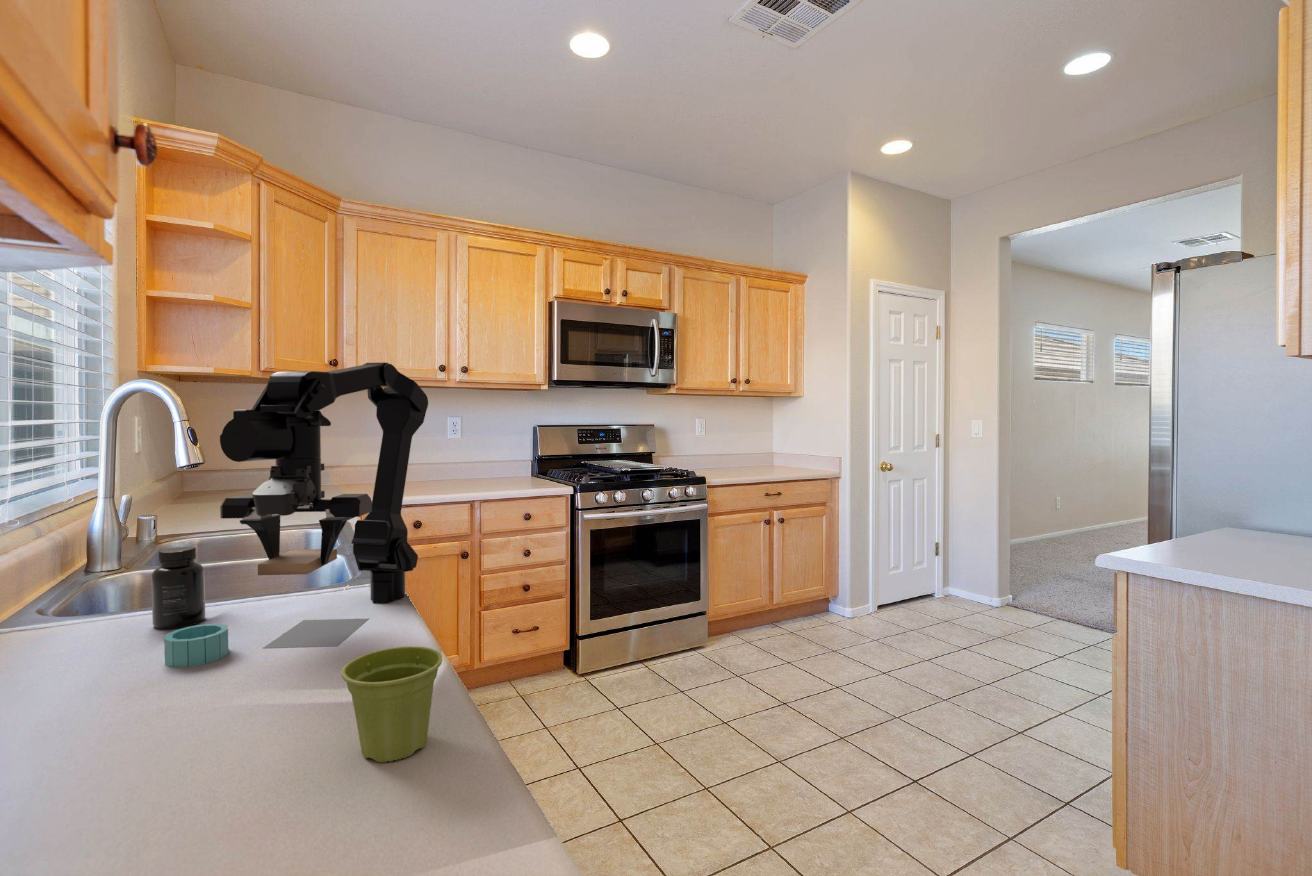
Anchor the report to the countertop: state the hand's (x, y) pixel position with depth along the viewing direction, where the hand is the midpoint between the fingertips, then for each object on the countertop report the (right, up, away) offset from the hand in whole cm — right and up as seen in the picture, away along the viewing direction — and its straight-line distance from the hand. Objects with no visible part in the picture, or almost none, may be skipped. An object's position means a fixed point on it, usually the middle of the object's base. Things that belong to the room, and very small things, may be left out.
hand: (299, 564), depth 91 cm
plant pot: (+25, -13, -28) cm, 40 cm away
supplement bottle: (-25, -12, +10) cm, 29 cm away
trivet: (+2, -12, +2) cm, 12 cm away
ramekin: (-9, -12, -7) cm, 17 cm away
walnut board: (0, 0, 0) cm, 0 cm away
